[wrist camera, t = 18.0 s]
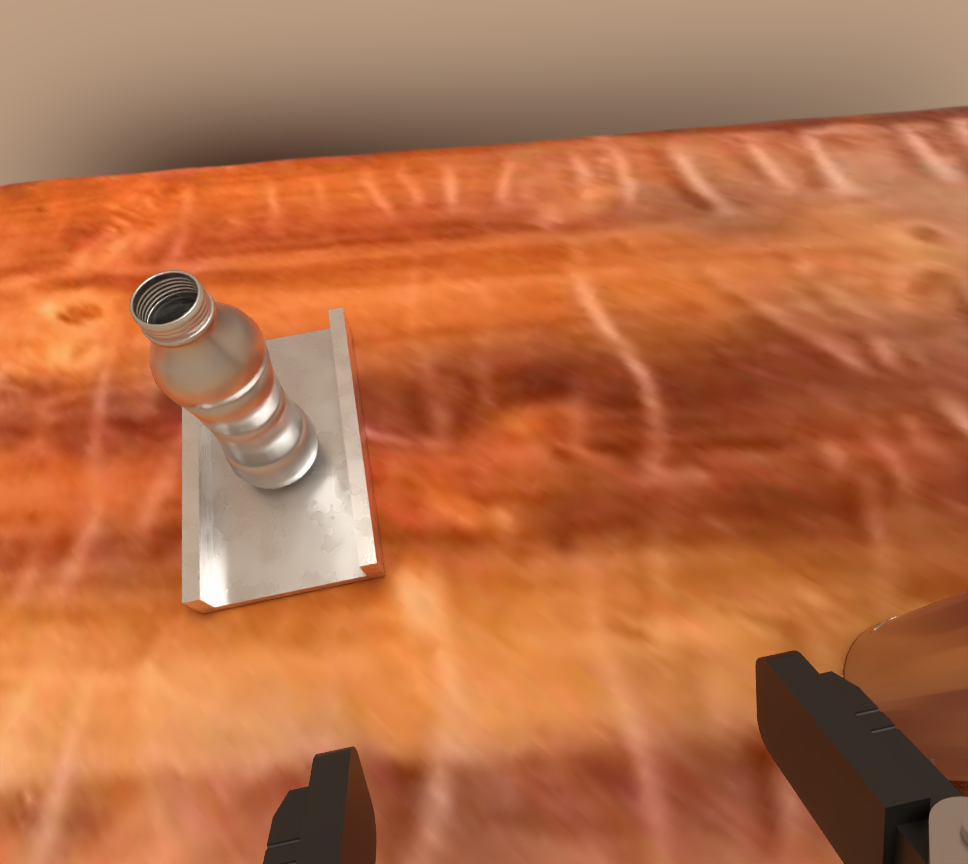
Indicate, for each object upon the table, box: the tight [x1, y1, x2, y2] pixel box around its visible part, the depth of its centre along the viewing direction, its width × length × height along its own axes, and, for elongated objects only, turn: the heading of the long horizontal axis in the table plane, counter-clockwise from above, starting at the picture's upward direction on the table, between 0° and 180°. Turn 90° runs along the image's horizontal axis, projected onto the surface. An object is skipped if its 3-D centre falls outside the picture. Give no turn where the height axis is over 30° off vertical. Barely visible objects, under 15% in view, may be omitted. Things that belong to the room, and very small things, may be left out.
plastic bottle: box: [129, 270, 318, 489], centre depth 43 cm, size 6×7×20 cm
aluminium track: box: [182, 307, 385, 614], centre depth 51 cm, size 22×13×4 cm, turn 11°
